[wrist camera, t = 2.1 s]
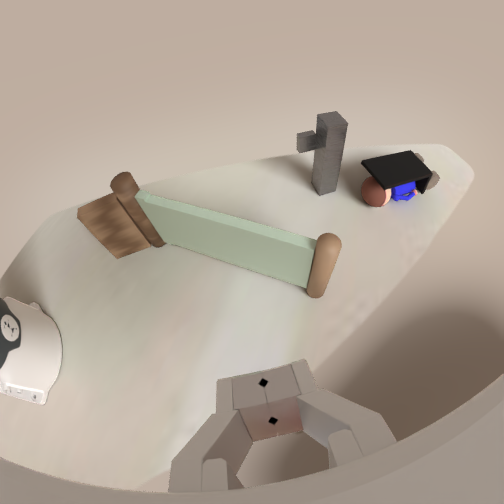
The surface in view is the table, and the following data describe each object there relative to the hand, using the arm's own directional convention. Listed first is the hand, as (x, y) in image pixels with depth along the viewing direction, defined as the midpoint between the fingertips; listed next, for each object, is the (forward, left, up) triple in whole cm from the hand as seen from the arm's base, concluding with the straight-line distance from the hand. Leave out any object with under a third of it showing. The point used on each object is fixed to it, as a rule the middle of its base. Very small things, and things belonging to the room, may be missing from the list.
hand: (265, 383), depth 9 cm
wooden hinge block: (-13, +26, -25) cm, 39 cm away
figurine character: (+30, +21, -26) cm, 45 cm away
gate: (+1, +17, -25) cm, 30 cm away
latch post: (+17, +27, -25) cm, 41 cm away
